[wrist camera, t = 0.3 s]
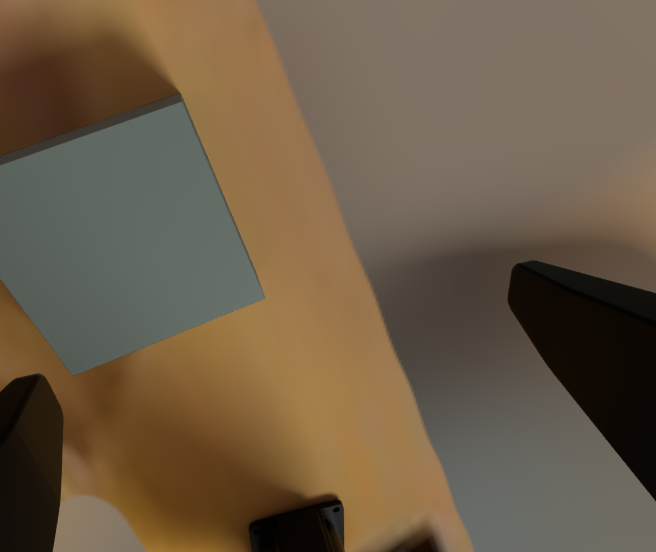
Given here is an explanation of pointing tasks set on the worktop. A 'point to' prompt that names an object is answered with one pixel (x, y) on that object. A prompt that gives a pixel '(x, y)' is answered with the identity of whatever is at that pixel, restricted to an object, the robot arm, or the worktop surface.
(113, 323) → the base block
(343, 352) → the worktop surface
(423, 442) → the worktop surface
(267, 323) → the worktop surface
